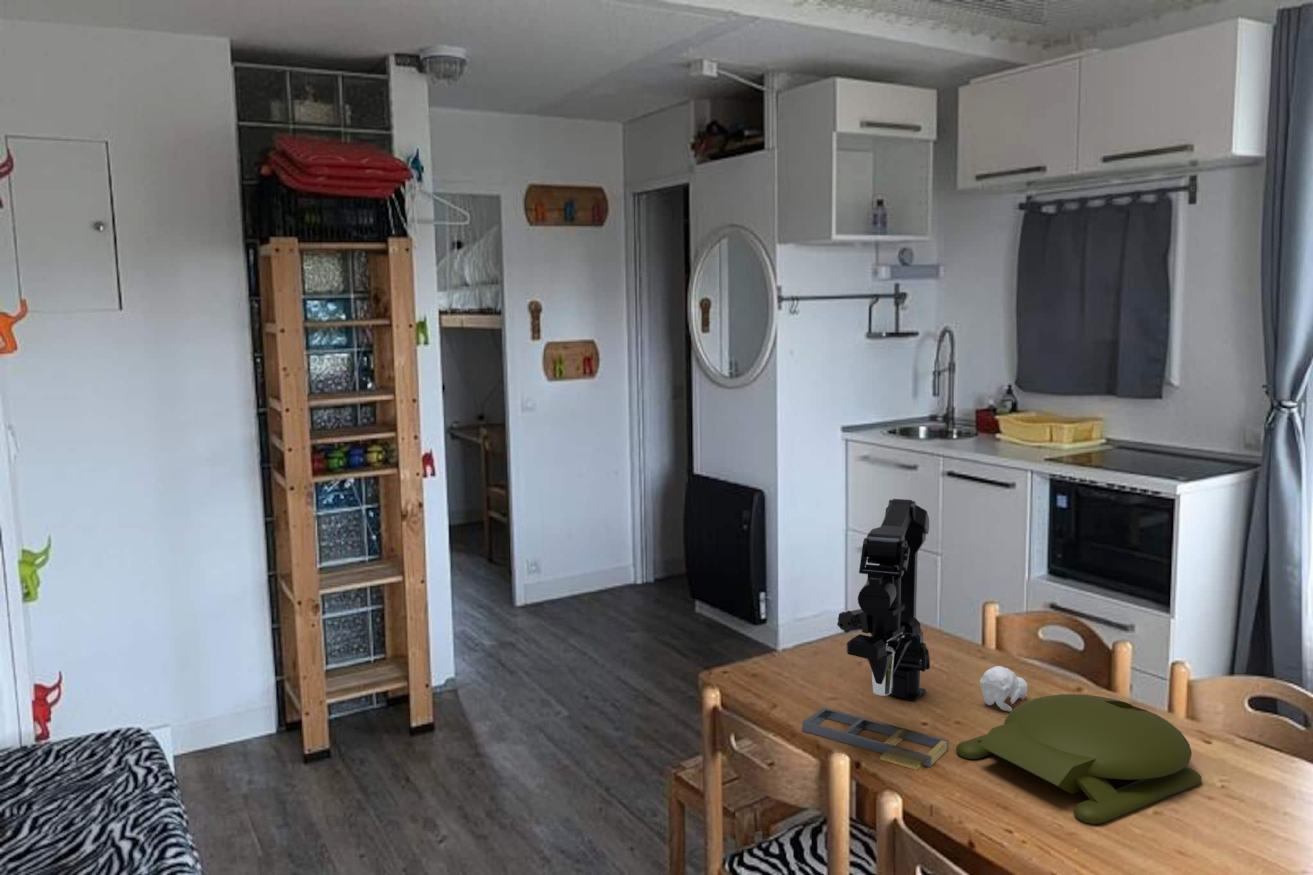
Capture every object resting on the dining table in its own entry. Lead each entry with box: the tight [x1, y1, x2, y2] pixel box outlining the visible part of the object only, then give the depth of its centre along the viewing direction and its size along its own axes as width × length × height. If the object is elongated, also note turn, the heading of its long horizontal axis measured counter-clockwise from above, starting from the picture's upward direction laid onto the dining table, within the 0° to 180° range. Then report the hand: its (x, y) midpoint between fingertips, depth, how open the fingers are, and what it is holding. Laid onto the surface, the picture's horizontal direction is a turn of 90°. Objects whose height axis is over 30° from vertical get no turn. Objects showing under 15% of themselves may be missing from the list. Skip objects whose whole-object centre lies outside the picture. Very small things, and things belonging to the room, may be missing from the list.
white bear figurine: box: [979, 665, 1028, 713], centre depth 199 cm, size 6×8×12 cm
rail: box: [802, 706, 949, 771], centre depth 184 cm, size 13×26×2 cm, turn 52°
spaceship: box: [955, 693, 1202, 825], centre depth 173 cm, size 35×31×10 cm
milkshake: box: [871, 642, 900, 697], centre depth 181 cm, size 4×5×10 cm
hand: (884, 680), depth 181 cm, fingers closed on milkshake, 4 cm apart
